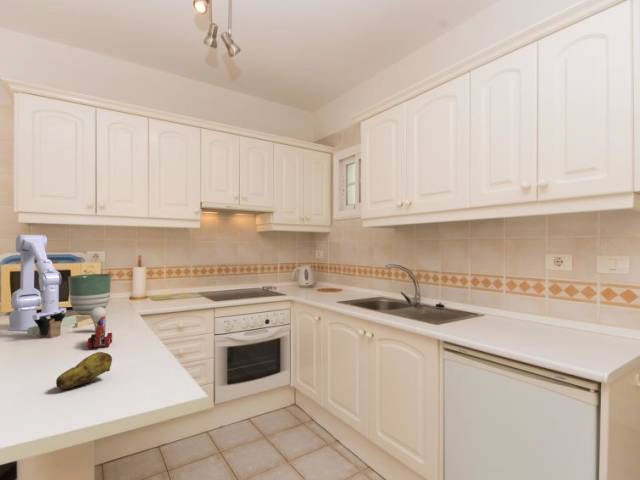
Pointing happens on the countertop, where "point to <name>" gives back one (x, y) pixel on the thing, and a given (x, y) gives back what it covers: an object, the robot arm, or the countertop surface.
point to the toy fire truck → (100, 335)
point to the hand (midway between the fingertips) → (50, 333)
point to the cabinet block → (52, 329)
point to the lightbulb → (97, 315)
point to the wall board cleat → (66, 323)
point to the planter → (89, 292)
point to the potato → (85, 370)
